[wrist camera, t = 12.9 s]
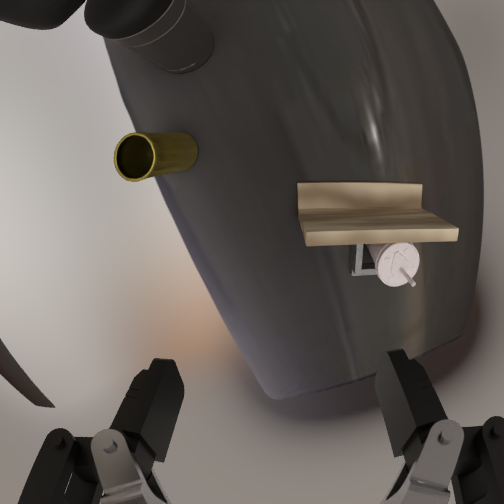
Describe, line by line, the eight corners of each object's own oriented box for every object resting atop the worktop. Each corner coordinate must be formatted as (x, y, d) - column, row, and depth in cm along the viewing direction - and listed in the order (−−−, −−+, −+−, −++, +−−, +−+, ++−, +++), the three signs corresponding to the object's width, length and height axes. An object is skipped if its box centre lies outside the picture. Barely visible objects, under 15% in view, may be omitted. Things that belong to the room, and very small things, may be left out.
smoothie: (364, 264, 42) (394, 312, 29) (352, 230, 40) (383, 268, 28) (397, 249, 41) (437, 290, 28) (387, 214, 39) (430, 245, 26)
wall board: (297, 182, 39) (305, 197, 28) (419, 183, 36) (461, 199, 25) (298, 217, 41) (306, 246, 29) (417, 215, 38) (456, 240, 27)
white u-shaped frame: (351, 216, 40) (358, 222, 36) (406, 215, 39) (415, 222, 35) (349, 270, 43) (354, 280, 40) (400, 267, 42) (408, 276, 39)
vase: (181, 124, 37) (136, 116, 23) (206, 153, 38) (171, 158, 25) (153, 150, 38) (100, 157, 25) (177, 179, 40) (132, 197, 27)
